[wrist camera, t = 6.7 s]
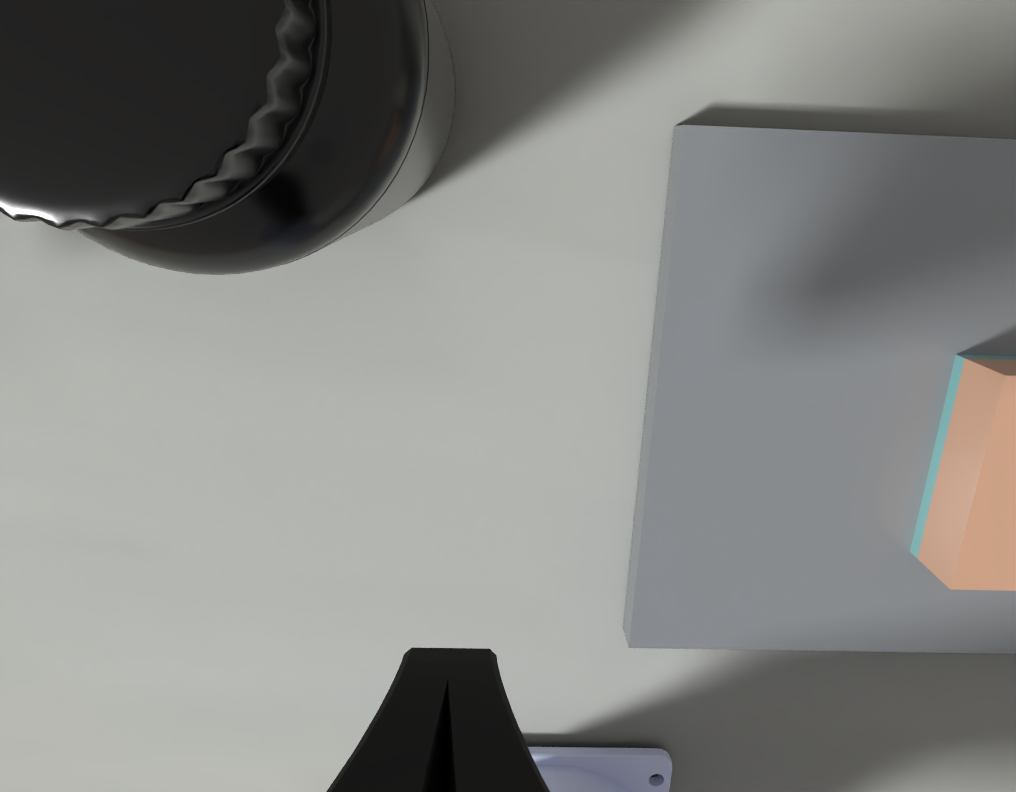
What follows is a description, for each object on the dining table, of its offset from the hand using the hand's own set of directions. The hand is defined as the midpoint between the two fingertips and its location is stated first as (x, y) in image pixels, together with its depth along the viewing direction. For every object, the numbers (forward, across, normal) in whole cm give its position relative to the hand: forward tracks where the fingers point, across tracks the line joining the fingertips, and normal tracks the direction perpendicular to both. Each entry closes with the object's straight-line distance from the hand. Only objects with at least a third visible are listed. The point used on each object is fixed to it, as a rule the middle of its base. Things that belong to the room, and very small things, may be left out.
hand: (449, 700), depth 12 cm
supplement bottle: (+11, +4, -9) cm, 15 cm away
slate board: (+10, -14, -1) cm, 18 cm away
